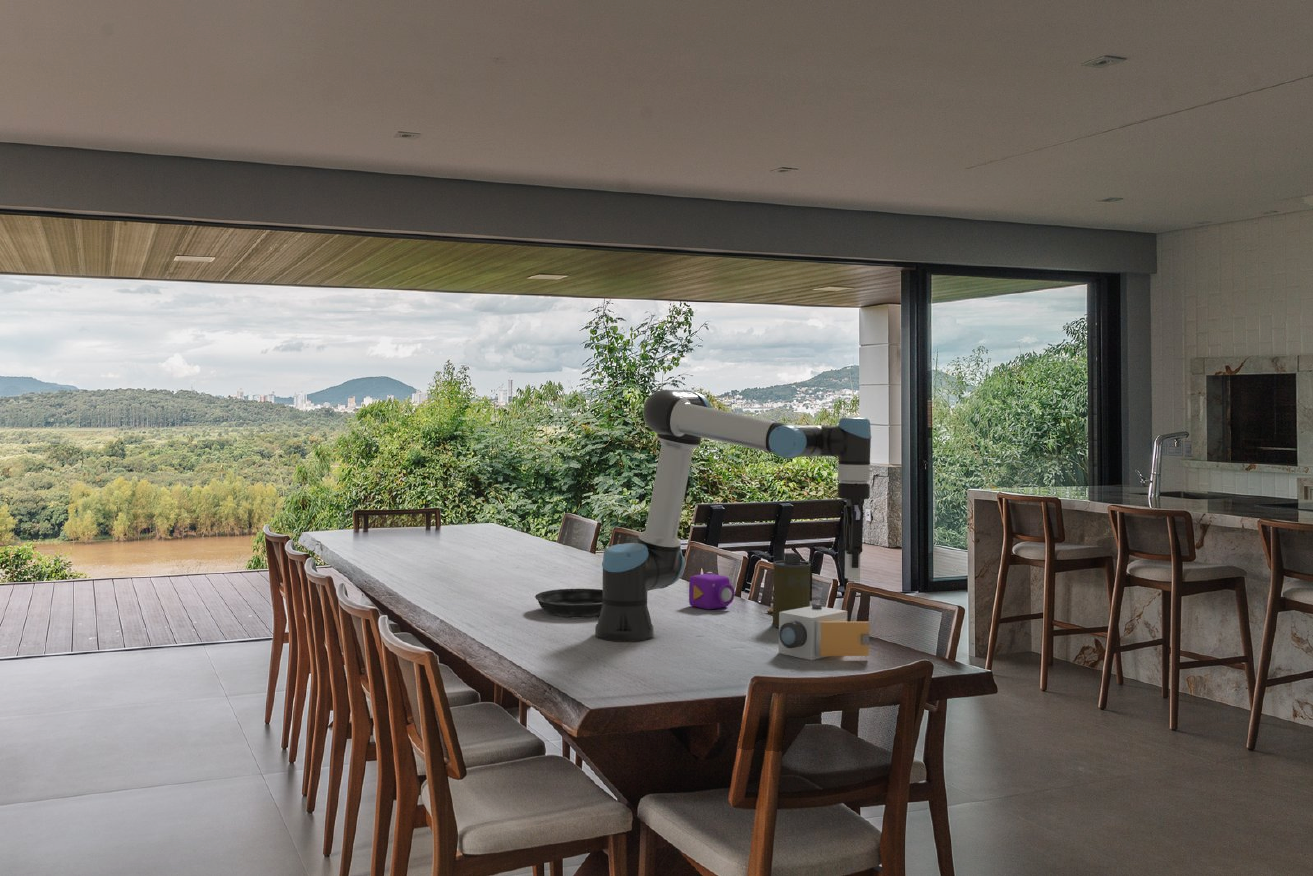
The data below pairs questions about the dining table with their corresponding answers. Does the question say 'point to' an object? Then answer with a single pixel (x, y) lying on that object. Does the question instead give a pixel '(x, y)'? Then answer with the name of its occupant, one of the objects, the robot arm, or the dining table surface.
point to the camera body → (804, 629)
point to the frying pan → (571, 602)
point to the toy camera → (710, 591)
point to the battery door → (842, 638)
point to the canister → (791, 585)
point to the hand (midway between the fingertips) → (852, 579)
